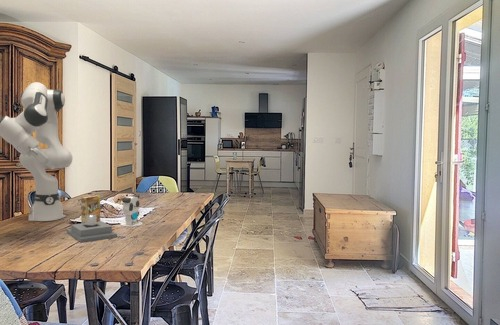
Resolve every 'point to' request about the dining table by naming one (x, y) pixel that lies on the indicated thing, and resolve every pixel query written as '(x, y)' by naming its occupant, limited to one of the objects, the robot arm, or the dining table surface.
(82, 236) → the socket housing
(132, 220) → the panda figurine
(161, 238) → the dining table surface
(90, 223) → the metal pin
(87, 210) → the candy box
